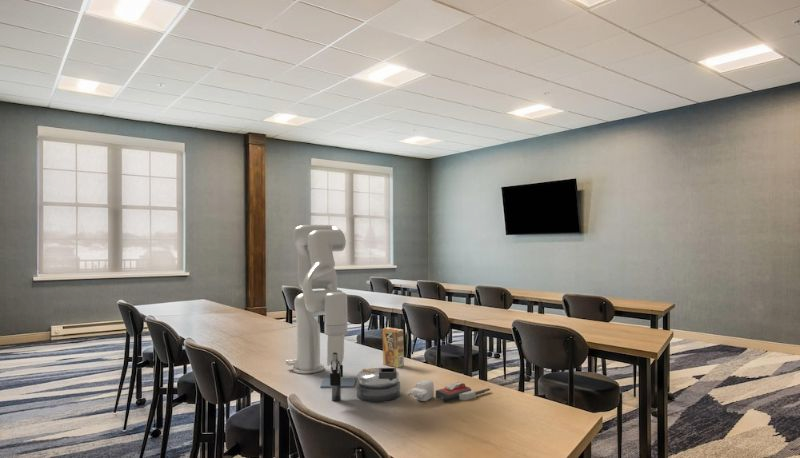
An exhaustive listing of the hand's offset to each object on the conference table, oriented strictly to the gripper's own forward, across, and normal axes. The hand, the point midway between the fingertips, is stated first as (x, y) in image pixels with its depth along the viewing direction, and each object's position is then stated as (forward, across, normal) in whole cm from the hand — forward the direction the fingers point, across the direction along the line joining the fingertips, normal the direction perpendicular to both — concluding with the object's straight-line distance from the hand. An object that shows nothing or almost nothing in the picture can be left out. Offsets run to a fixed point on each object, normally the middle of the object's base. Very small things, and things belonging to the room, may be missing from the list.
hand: (336, 381), depth 156 cm
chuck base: (+6, -5, +14) cm, 16 cm away
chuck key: (+6, -1, 0) cm, 6 cm away
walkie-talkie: (+7, -2, +42) cm, 43 cm away
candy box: (+6, -43, +20) cm, 47 cm away
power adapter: (+7, +2, +28) cm, 29 cm away
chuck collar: (+2, -5, +14) cm, 15 cm away
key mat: (+6, -19, -1) cm, 20 cm away
